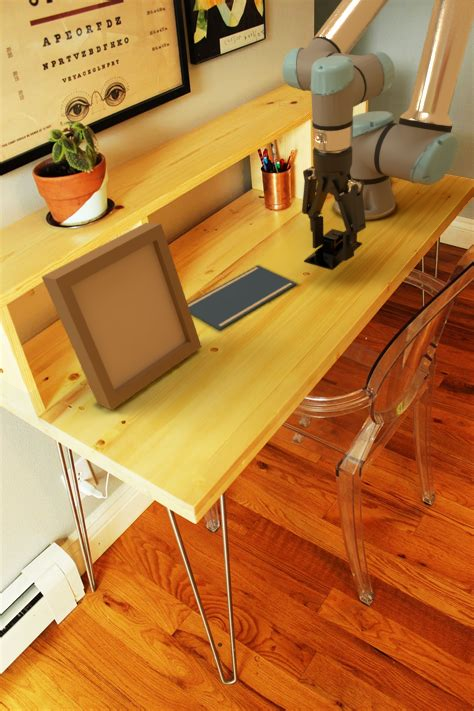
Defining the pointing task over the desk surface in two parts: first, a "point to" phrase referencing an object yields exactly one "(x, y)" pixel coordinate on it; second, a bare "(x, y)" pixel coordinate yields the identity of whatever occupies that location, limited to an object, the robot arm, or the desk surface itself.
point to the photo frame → (124, 313)
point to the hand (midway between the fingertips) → (333, 251)
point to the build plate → (329, 251)
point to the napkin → (239, 297)
